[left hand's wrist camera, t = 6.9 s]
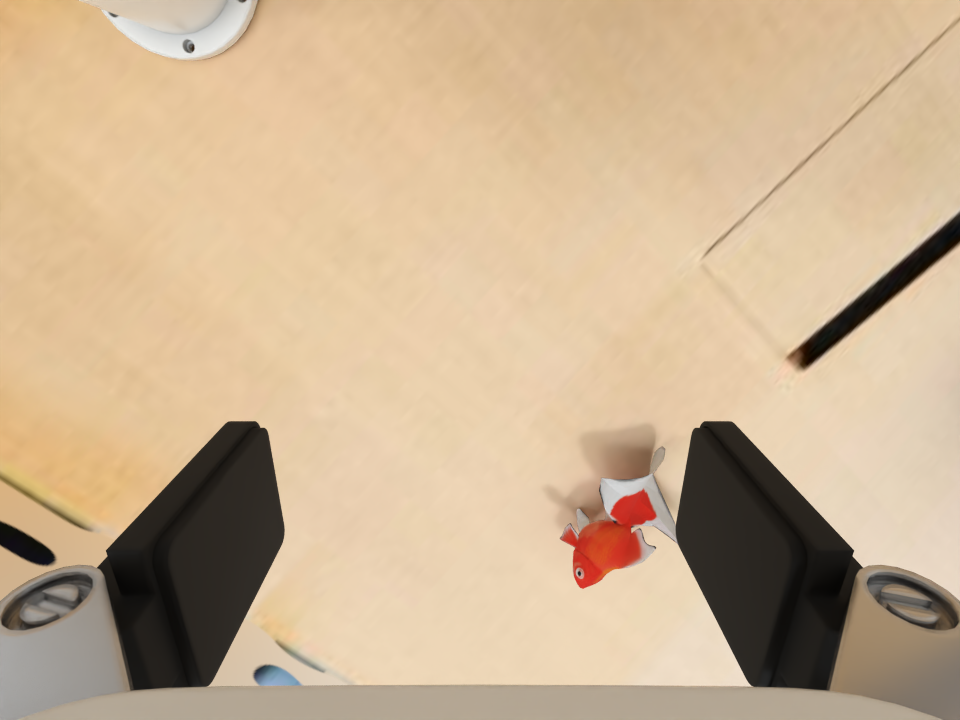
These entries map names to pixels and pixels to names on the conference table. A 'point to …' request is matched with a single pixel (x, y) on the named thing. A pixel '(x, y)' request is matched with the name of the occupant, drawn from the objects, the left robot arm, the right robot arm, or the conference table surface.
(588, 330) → the conference table surface
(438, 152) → the conference table surface
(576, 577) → the fish
